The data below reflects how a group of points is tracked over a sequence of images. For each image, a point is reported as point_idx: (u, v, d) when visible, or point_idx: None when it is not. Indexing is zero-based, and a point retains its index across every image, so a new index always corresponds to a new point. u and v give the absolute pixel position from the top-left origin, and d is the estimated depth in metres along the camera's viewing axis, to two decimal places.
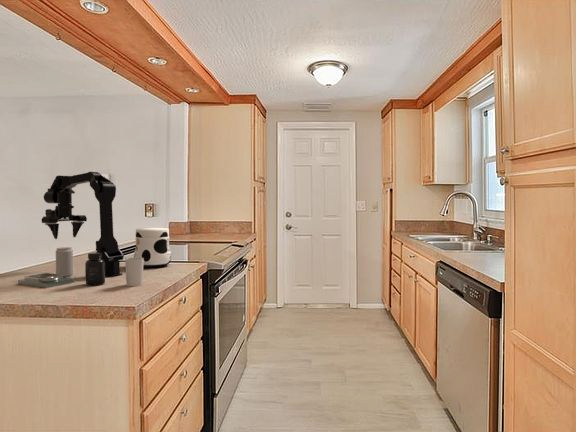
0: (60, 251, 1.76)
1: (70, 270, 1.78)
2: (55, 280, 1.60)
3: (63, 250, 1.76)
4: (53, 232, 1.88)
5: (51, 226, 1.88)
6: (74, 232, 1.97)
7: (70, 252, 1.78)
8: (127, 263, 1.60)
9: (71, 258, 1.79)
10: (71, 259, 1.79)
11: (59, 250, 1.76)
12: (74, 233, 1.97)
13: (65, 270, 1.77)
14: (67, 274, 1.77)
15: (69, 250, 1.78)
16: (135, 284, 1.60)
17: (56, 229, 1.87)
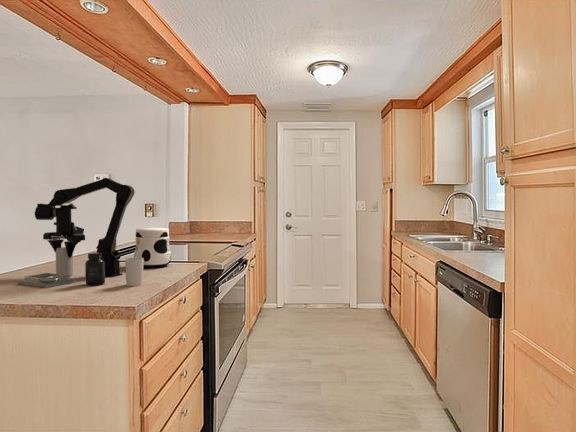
0: (60, 251, 1.76)
1: (70, 270, 1.78)
2: (55, 280, 1.60)
3: (63, 250, 1.76)
4: None
5: None
6: None
7: None
8: (127, 263, 1.60)
9: (71, 258, 1.79)
10: (71, 259, 1.79)
11: (59, 250, 1.76)
12: None
13: (65, 270, 1.77)
14: (67, 274, 1.77)
15: None
16: (135, 284, 1.60)
17: (52, 246, 1.79)
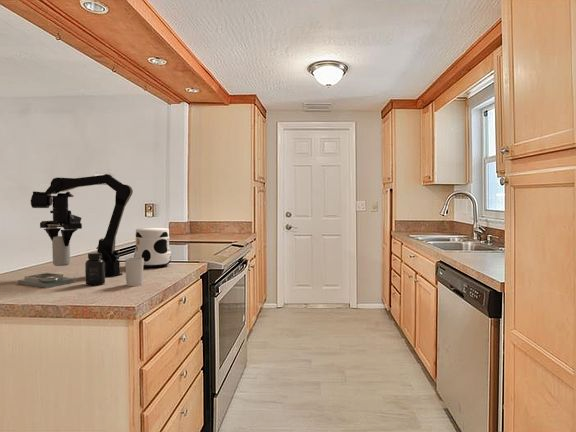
0: (57, 240, 1.74)
1: (67, 259, 1.76)
2: (55, 280, 1.60)
3: (60, 239, 1.74)
4: None
5: None
6: None
7: None
8: (127, 263, 1.60)
9: (68, 247, 1.77)
10: (68, 248, 1.77)
11: (56, 239, 1.74)
12: None
13: (62, 259, 1.75)
14: (64, 263, 1.75)
15: None
16: (135, 284, 1.60)
17: (49, 235, 1.77)
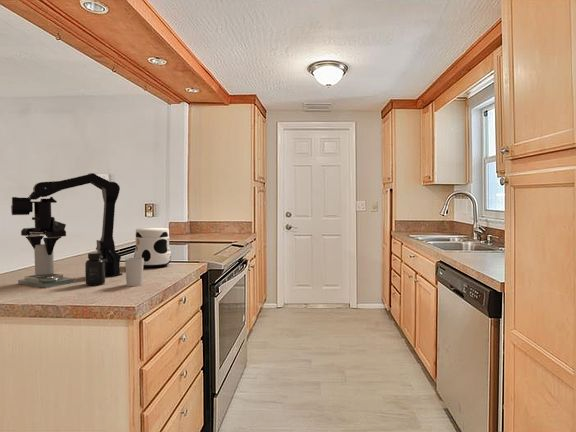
0: (39, 248, 1.63)
1: (50, 269, 1.66)
2: (55, 280, 1.60)
3: (42, 247, 1.64)
4: None
5: None
6: None
7: None
8: (127, 263, 1.60)
9: (51, 256, 1.66)
10: (51, 257, 1.66)
11: (38, 247, 1.64)
12: None
13: (45, 268, 1.64)
14: (47, 273, 1.65)
15: None
16: (135, 284, 1.60)
17: (31, 243, 1.66)
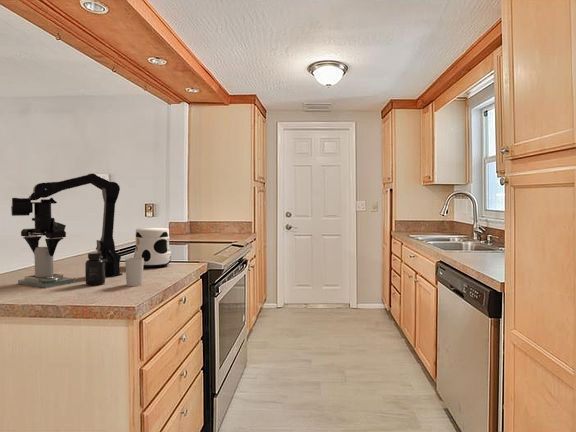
0: (39, 251, 1.63)
1: (50, 271, 1.66)
2: (55, 280, 1.60)
3: (42, 250, 1.64)
4: None
5: None
6: None
7: None
8: (127, 263, 1.60)
9: (51, 258, 1.66)
10: (51, 259, 1.66)
11: (38, 250, 1.64)
12: None
13: (44, 271, 1.64)
14: (47, 275, 1.65)
15: None
16: (135, 284, 1.61)
17: (28, 243, 1.67)
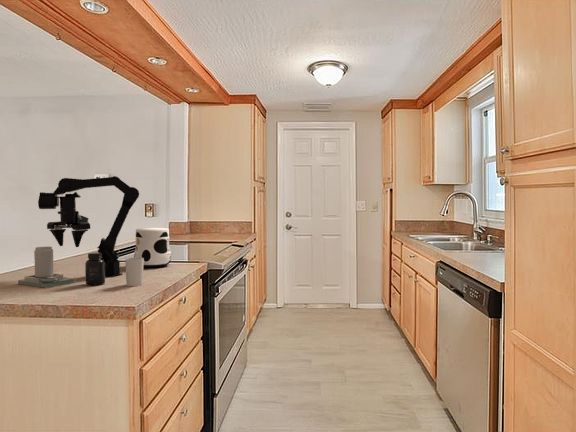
0: (39, 251, 1.63)
1: (50, 271, 1.66)
2: (55, 280, 1.60)
3: (42, 250, 1.64)
4: None
5: None
6: None
7: (50, 252, 1.66)
8: (127, 263, 1.60)
9: (51, 258, 1.66)
10: (51, 259, 1.66)
11: (38, 250, 1.64)
12: None
13: (44, 271, 1.64)
14: (47, 275, 1.65)
15: (49, 250, 1.65)
16: (135, 284, 1.61)
17: (54, 236, 1.77)
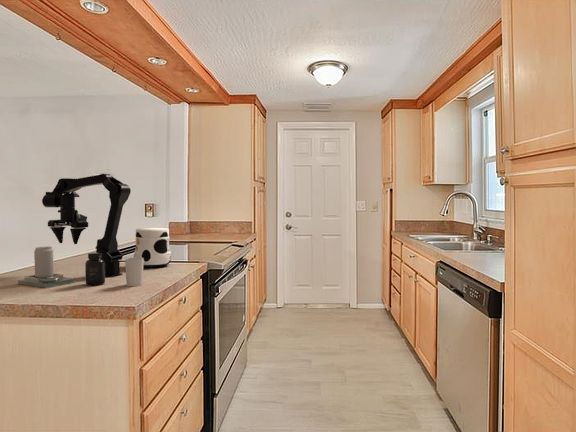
0: (39, 251, 1.63)
1: (50, 271, 1.66)
2: (55, 280, 1.60)
3: (42, 250, 1.64)
4: None
5: None
6: None
7: (50, 252, 1.66)
8: (127, 263, 1.60)
9: (51, 258, 1.66)
10: (51, 259, 1.66)
11: (38, 250, 1.64)
12: None
13: (44, 271, 1.64)
14: (47, 275, 1.65)
15: (49, 250, 1.65)
16: (135, 284, 1.61)
17: (54, 233, 1.85)
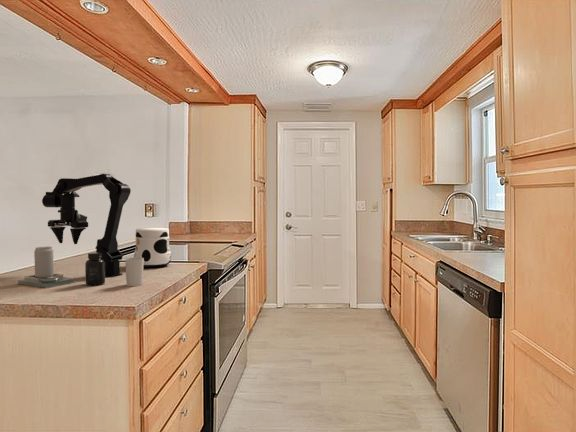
0: (39, 251, 1.63)
1: (50, 271, 1.66)
2: (55, 280, 1.60)
3: (42, 250, 1.64)
4: None
5: None
6: None
7: (50, 252, 1.66)
8: (127, 263, 1.60)
9: (51, 258, 1.66)
10: (51, 259, 1.66)
11: (38, 250, 1.64)
12: None
13: (44, 271, 1.64)
14: (47, 275, 1.65)
15: (49, 250, 1.65)
16: (135, 284, 1.61)
17: (54, 233, 1.86)
